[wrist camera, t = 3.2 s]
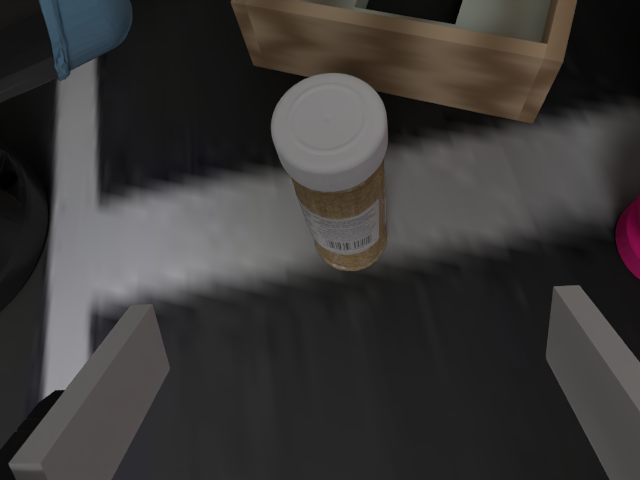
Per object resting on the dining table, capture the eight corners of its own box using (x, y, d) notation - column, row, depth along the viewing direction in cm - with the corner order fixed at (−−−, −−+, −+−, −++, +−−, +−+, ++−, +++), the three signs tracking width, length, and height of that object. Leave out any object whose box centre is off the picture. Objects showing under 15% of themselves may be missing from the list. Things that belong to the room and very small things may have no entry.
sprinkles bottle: (392, 211, 32) (397, 73, 19) (379, 280, 31) (375, 178, 18) (322, 201, 33) (283, 62, 20) (306, 267, 31) (255, 161, 19)
